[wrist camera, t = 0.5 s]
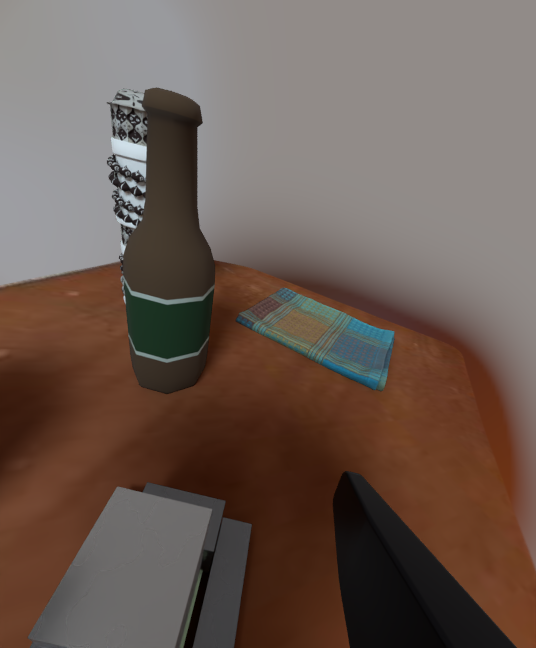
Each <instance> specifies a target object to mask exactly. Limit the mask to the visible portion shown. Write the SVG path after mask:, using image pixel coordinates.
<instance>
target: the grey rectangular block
mask: <svg viewBox="0 0 536 648" xmlns="http://www.w3.org/2000/svg"><path fill="white" fill-rule="evenodd" d="M211 513H212V509H209V508H205V507H201V506H197V505H193V504H188V503H184V502H180V501H176V500H172V499H168V498H163V497H159V496H155V495H151V494H147V493H142V492H138V491H134V490H130V489H126V488H121V487H117V488H116V490H115V491H114V493H113V495H112V496H111V498H110V500H109V501H108V503H107V505H106V507H105V508H104V510H103V512H102V513H101V515H100V517H99V518H98V520H97V522H96V523H95V525H94V527H93V528H92V530H91V532H90V533H89V535H88V537H87V539H86V540H85V542H84V544H83V545H82V547H81V549H80V550H79V552H78V554H77V555H76V557H75V559H74V560H73V562H72V564H71V565H70V567H69V569H68V571H67V572H66V574H65V576H64V577H63V579H62V581H61V582H60V584H59V586H58V587H57V589H56V591H55V592H54V594H53V596H52V597H51V599H50V601H49V602H48V604H47V606H46V608H45V609H44V611H43V613H42V614H41V616H40V618H39V619H38V621H37V623H36V624H35V626H34V628H33V629H32V631H31V633H30V634H29V636H28V639H29V640H31V641H32V642H34V643H35V644H36V645H38V646H39V647H40V648H183V647H184V643H185V639H186V635H187V631H188V627H189V623H190V619H191V615H192V611H193V607H194V604H195V600H196V596H197V592H198V588H199V584H200V580H201V576H202V572H203V570H201V569H200V567H201V562H202V558H203V553H204V548H205V543H206V538H207V533H208V528H209V523H210V518H211Z"/></svg>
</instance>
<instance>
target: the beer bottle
mask: <svg viewBox="0 0 536 648" xmlns="http://www.w3.org/2000/svg"><path fill="white" fill-rule="evenodd" d="M142 107H143V109H144V110H145V111H146V113H147V152H146V193H145V204H144V211H143V218H142V220H141V222H140V223H139V224H138V226H137V227H136V228H135V230H134V231H133V233H132V234H131V235H130V237H129V239H128V242H127V245H126V248H125V251H124V254H123V279H124V290H125V301H126V312H127V323H128V334H129V345H130V355H131V361H132V366H133V369H134V372H135V375H136V377H137V380H138V382H139V385H140V386H141V387H144V388H147V389H151V390H154V391H158V392H162V393H165V394H169V393H172V392H175V391H178V390H181V389H185V388H188V387H191V386H193V385H194V384H195V383H196V381H197V379H198V378H199V376H200V374H201V372H202V371H203V369H204V367H205V363H206V358H207V350H208V341H209V332H210V322H211V313H212V304H213V294H214V285H215V264H214V260H213V256H212V253H211V249H210V247H209V245H208V243H207V241H206V239H205V237H204V235H203V234H202V232H201V230H200V228H199V219H198V209H197V127H198V126H200V125H201V124H202V123H203V122H202V116H201V110H200V106H199V105H198V104H197V103H196V102H194V101H193V100H192V99H190V98H188V97H186V96H183V95H181V94H178V93H175V92H172V91H168V90H164V89H160V88H152V89H148V90H145V93H144V98H143V102H142Z"/></svg>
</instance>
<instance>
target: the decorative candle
mask: <svg viewBox="0 0 536 648" xmlns="http://www.w3.org/2000/svg"><path fill="white" fill-rule="evenodd" d="M143 98H144V93H142V92H138V91H134V90H129V89H121V90H119V91H118V93H117V94H116V96H115V98H114V100H113V101H112V102H111V103H108V104H110V107H111V108H110V110H111V122H112V130H113V138H111V143H112V151H113V153H115V154H116V155H114V154H113V155H112V156H110V157H109V158H108V160H107V164H108V165H109V166H110V167H111V169H112V170H114V171H112V172H111V174H110V175H109V179H110V180H111V183H112V184H114V185H115V186H116V187H117V188H118V189H117V190H114V191H113V195H112V198H113V199H114V200H115V202H116V205H115V207H114V208H113V210H114V212H115V214H116V220H117V222H119V223H120V224H121V235H122V241H121V251H122V253H121V255H120V256H119V259H120V260H121V263H122V266H120V269H121V270H122V274H123V254H124V251H125V248H126V245H127V242H128V239H129V237H130V235H131V234H132V233H133V231H134V230H135V228H136V227H137V226H138V224H139V223H140V222H141V220H142V218H143V211H144V204H145V193H146V152H147V113H146V111H145V110H144V109H143V107H142V102H143ZM121 282H122V284H123V287H122V291H123V294H124V301H125V290H124V279H123V276H122V277H121ZM125 304H126V301H125Z"/></svg>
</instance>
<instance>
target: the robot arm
mask: <svg viewBox="0 0 536 648" xmlns="http://www.w3.org/2000/svg"><path fill="white" fill-rule="evenodd" d="M333 514H334V526H335V539H336V551H337V563H338V574H339V583H340V590H341V596H342V602H343V608H344V614H345V620H346V626H347V632H348V638H349V644H350V648H517V647H516V646H515V645H514V644H513V643H512V642H511V641H510V639H509V638H508V637H507V636H506V635H505V634H504V633H503V632H502V631H501V629H500V628H499V627H498V626H497V625H496V624H495V623H494V622H493V621H492V620H491V618H490V617H489V616H488V615H487V614H486V613H485V612H484V611H483V610H482V608H481V607H480V606H479V605H478V604H477V603H476V602H475V601H474V600H473V598H472V597H471V596H470V595H469V594H468V593H467V592H466V591H465V590H464V588H463V587H462V586H461V585H460V584H459V583H458V582H457V581H456V580H455V578H454V577H453V576H452V575H451V574H450V573H449V572H448V571H447V570H446V568H445V567H444V566H443V565H442V564H441V563H440V562H439V561H438V560H437V558H436V557H435V556H434V555H433V554H432V553H431V552H430V551H429V550H428V549H427V547H426V546H425V545H424V544H423V543H422V542H421V541H420V540H419V539H418V537H417V536H416V535H415V534H414V533H413V532H412V531H411V530H410V529H409V527H408V526H407V525H406V524H405V523H404V522H403V521H402V520H401V519H400V517H399V516H398V515H397V514H396V513H395V512H394V511H393V510H392V509H391V507H390V506H389V505H388V504H387V503H386V502H385V501H384V500H383V499H382V497H381V496H380V495H379V494H378V493H377V492H376V491H375V490H374V489H373V487H372V486H371V485H370V484H369V483H368V482H367V481H366V480H365V479H364V478H363V477H362V476H361V475H360V474H358V473H353V472H349V471H345V472H343V474H342V476H341V478H340V481H339V483H338V486H337V489H336V491H335V494H334V497H333Z"/></svg>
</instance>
